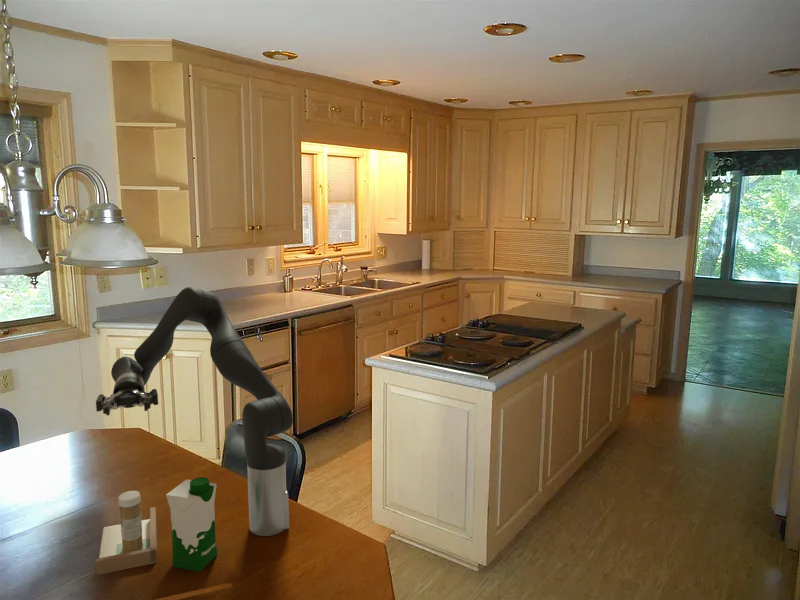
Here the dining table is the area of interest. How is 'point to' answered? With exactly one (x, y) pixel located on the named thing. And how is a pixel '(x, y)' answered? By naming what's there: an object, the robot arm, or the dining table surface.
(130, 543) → the sprinkles bottle
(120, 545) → the pad
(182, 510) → the milk carton
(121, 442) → the dining table surface
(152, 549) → the tray
